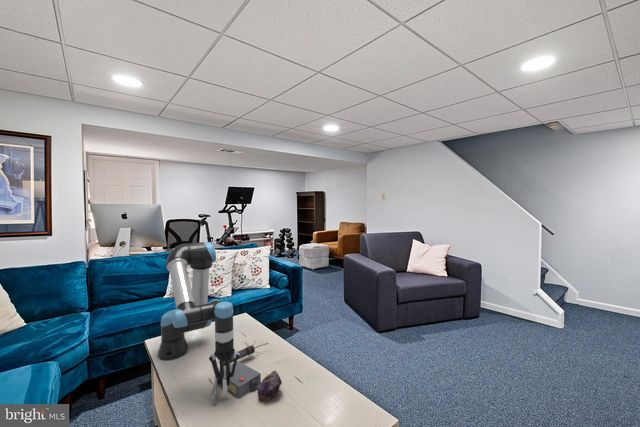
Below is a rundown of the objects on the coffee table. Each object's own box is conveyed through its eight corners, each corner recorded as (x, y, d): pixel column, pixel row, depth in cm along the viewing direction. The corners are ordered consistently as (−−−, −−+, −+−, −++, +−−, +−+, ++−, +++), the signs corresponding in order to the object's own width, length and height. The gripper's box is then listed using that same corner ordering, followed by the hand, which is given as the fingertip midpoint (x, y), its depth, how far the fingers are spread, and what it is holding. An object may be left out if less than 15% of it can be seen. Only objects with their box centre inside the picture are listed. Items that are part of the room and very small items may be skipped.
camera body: (216, 383, 131) (216, 371, 131) (238, 370, 141) (238, 359, 141) (241, 399, 120) (241, 386, 120) (263, 385, 130) (262, 373, 130)
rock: (255, 401, 121) (274, 408, 117) (252, 384, 120) (271, 390, 115) (270, 381, 131) (288, 387, 127) (268, 365, 130) (286, 370, 126)
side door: (214, 383, 131) (214, 373, 131) (217, 382, 131) (217, 373, 131) (212, 405, 117) (212, 394, 116) (216, 404, 117) (215, 394, 117)
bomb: (219, 351, 137) (269, 330, 159) (211, 354, 144) (260, 334, 165) (225, 375, 134) (275, 350, 155) (216, 377, 140) (266, 353, 162)
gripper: (241, 334, 125) (241, 385, 126) (210, 336, 123) (212, 388, 124) (238, 342, 118) (239, 396, 118) (206, 344, 116) (207, 399, 117)
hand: (225, 392), depth 121 cm, fingers closed
